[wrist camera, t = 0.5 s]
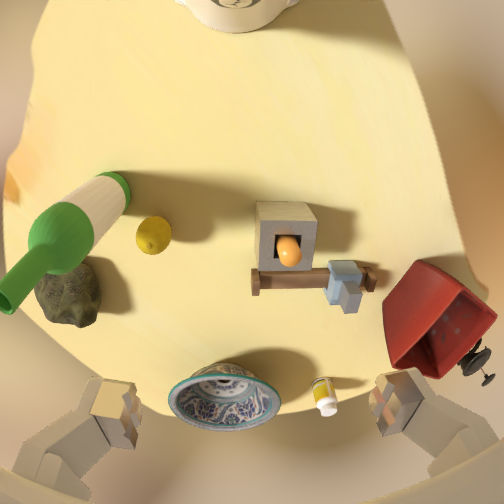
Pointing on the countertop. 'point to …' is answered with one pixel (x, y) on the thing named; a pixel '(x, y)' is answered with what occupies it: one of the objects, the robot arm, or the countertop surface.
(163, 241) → the lemon
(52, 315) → the decorative rock
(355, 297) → the carriage
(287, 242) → the gauge button
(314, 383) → the supplement bottle
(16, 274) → the wine bottle
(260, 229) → the grey cube with hole
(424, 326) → the plant pot
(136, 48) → the countertop surface
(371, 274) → the rail
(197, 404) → the bowl
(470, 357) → the french press
